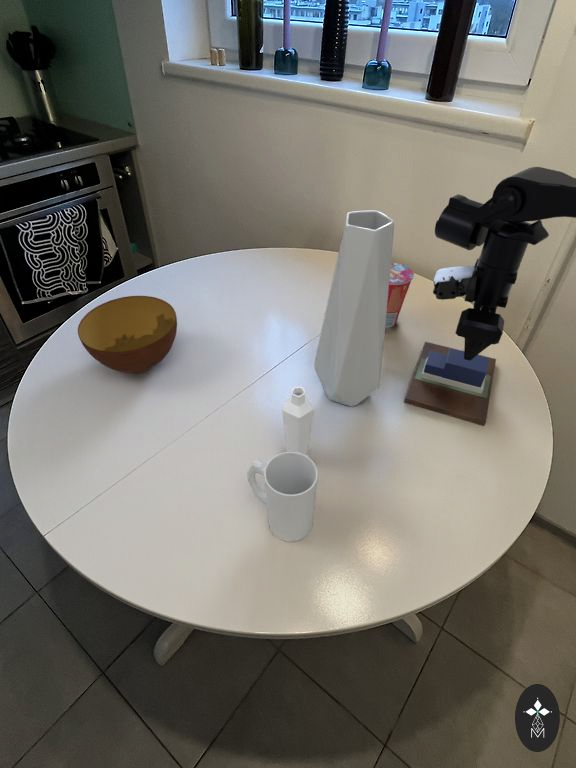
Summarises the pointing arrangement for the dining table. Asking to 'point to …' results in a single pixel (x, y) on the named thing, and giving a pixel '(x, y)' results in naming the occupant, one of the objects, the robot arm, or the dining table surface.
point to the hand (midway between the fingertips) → (470, 343)
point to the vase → (356, 309)
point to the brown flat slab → (449, 392)
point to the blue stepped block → (456, 370)
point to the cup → (397, 291)
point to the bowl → (129, 332)
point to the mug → (287, 493)
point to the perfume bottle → (297, 420)
